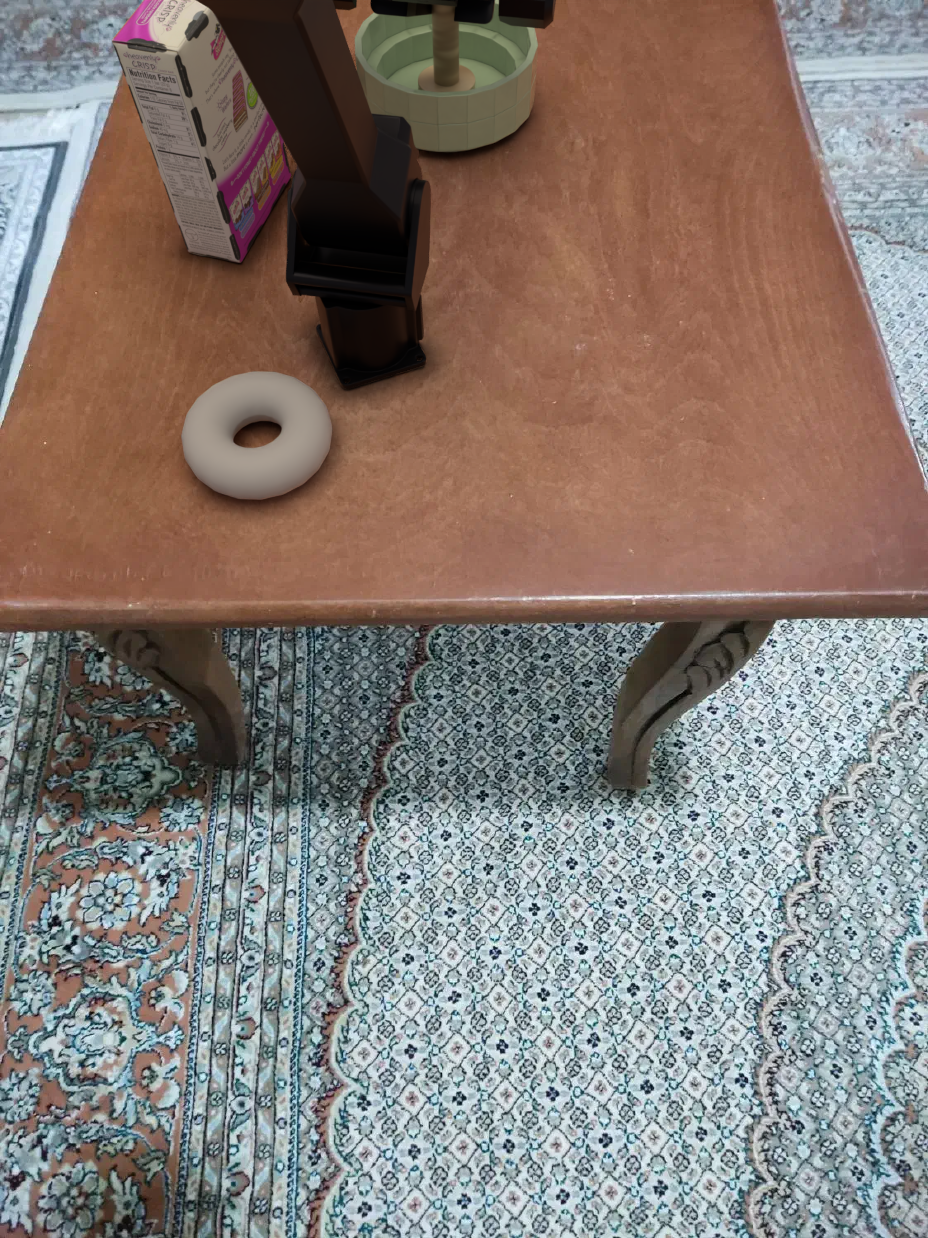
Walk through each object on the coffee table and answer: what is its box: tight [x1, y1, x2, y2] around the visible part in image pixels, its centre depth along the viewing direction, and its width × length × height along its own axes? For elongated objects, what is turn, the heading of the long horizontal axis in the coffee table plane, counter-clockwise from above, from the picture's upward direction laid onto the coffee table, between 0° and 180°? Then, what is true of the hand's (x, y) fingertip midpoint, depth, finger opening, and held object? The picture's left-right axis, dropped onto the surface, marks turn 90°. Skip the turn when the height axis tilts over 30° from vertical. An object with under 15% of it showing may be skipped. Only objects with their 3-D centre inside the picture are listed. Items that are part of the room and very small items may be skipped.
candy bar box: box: [111, 0, 292, 264], centre depth 65 cm, size 11×5×16 cm, turn 164°
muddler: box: [418, 4, 475, 92], centre depth 72 cm, size 5×5×14 cm
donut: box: [180, 370, 333, 501], centre depth 59 cm, size 10×4×10 cm
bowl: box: [354, 0, 539, 153], centre depth 76 cm, size 15×15×6 cm
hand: (448, 7), depth 73 cm, fingers closed on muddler, 2 cm apart
